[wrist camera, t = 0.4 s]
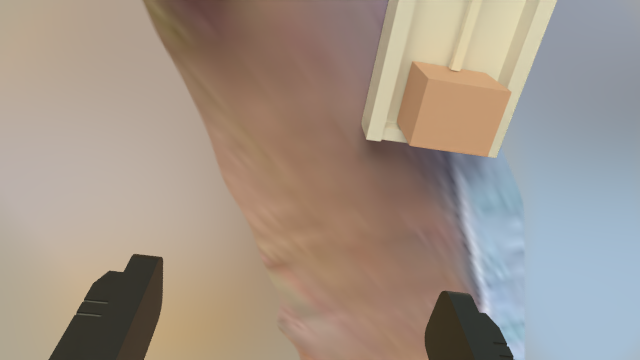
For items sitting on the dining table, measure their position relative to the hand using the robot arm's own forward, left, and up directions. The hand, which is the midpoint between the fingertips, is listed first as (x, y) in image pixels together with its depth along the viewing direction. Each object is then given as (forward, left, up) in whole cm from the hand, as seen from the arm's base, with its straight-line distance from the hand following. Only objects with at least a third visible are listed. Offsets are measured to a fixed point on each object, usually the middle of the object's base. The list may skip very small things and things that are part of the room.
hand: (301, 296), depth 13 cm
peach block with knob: (-6, +11, -26) cm, 29 cm away
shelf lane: (-2, +11, -27) cm, 29 cm away
